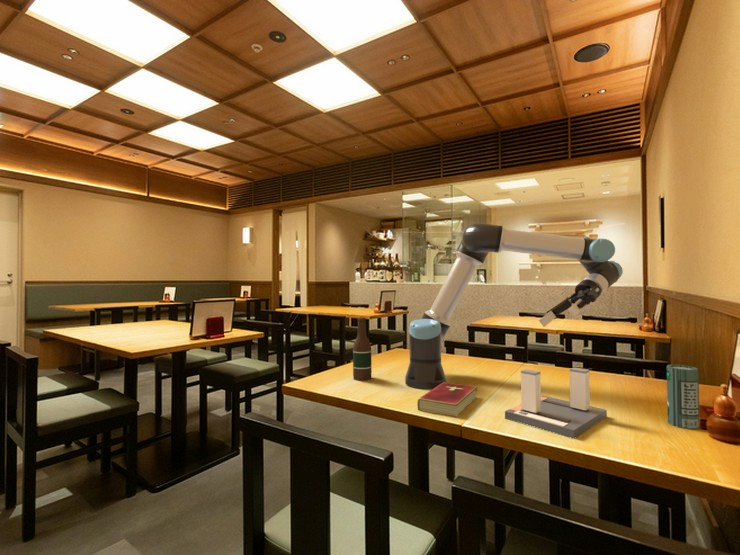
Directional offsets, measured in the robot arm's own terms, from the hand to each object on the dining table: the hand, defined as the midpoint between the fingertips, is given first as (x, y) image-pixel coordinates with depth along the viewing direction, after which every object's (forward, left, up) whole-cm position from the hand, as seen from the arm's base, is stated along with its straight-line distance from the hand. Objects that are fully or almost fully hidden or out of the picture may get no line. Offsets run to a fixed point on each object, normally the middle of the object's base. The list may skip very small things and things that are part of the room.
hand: (555, 318), depth 124 cm
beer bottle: (-68, +13, -26) cm, 74 cm away
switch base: (-6, -21, -26) cm, 34 cm away
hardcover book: (-35, -13, -26) cm, 46 cm away
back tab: (+1, -19, -23) cm, 30 cm away
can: (+25, -21, -26) cm, 42 cm away
